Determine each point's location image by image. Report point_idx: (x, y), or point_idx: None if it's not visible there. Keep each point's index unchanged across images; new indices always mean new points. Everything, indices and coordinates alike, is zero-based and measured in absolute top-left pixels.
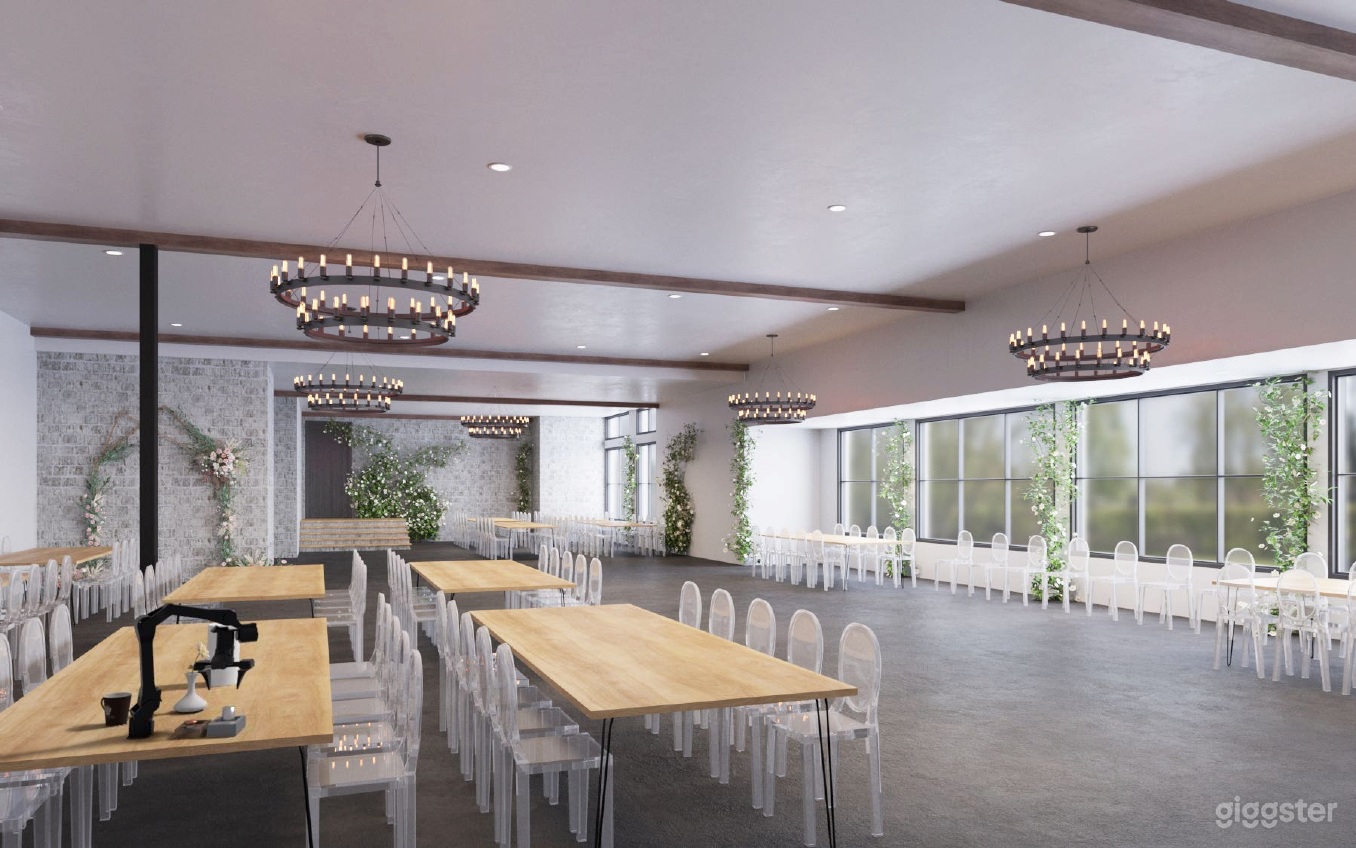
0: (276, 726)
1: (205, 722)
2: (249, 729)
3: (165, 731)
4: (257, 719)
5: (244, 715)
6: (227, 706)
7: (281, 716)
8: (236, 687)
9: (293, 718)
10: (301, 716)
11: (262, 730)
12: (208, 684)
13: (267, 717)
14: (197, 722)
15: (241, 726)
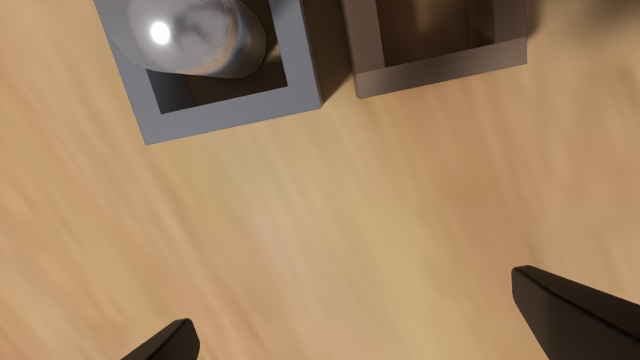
0: (32, 158)
1: (363, 7)
2: None
3: (610, 15)
4: (214, 287)
5: (151, 139)
6: (184, 34)
7: (135, 338)
8: (176, 332)
9: (57, 306)
10: (46, 339)
11: (47, 68)
12: (584, 305)
13: None
14: (439, 56)
15: None
